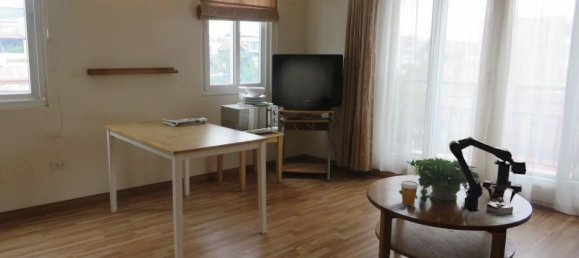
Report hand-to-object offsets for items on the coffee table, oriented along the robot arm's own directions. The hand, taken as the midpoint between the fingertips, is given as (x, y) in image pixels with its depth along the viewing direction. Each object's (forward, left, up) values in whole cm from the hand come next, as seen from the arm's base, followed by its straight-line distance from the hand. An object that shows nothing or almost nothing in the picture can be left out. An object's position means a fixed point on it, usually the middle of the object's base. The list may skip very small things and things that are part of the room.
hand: (500, 201), depth 251 cm
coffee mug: (+18, +22, -6) cm, 29 cm away
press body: (0, +1, -6) cm, 6 cm away
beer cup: (-40, +25, -6) cm, 48 cm away
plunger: (0, 0, -5) cm, 5 cm away
